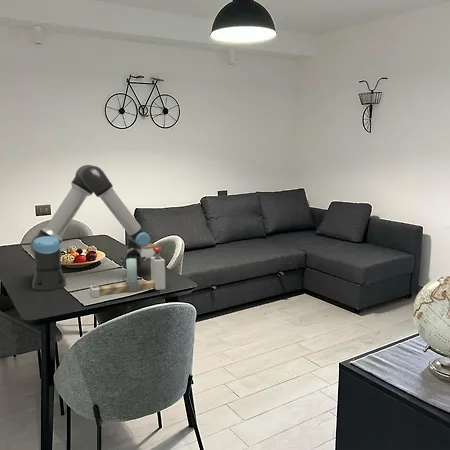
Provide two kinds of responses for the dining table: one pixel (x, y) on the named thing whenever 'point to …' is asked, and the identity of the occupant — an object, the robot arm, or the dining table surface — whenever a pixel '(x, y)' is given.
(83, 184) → the robot arm
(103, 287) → the rail
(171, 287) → the dining table surface
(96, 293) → the block
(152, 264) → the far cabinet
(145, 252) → the lidded jar
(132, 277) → the carriage
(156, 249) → the gauge plunger
